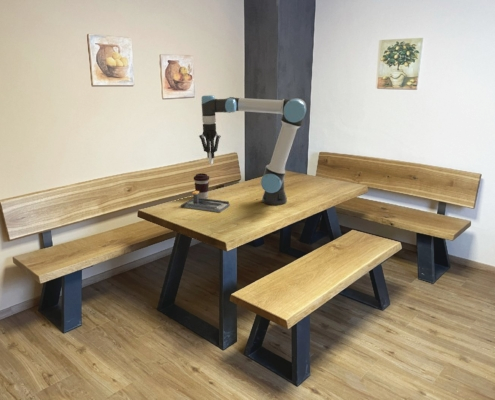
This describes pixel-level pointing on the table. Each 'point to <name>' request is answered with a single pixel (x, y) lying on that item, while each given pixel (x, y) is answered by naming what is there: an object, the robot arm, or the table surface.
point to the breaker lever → (195, 196)
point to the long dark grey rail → (214, 200)
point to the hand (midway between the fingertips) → (211, 163)
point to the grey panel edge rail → (186, 203)
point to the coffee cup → (202, 184)
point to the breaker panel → (207, 206)
